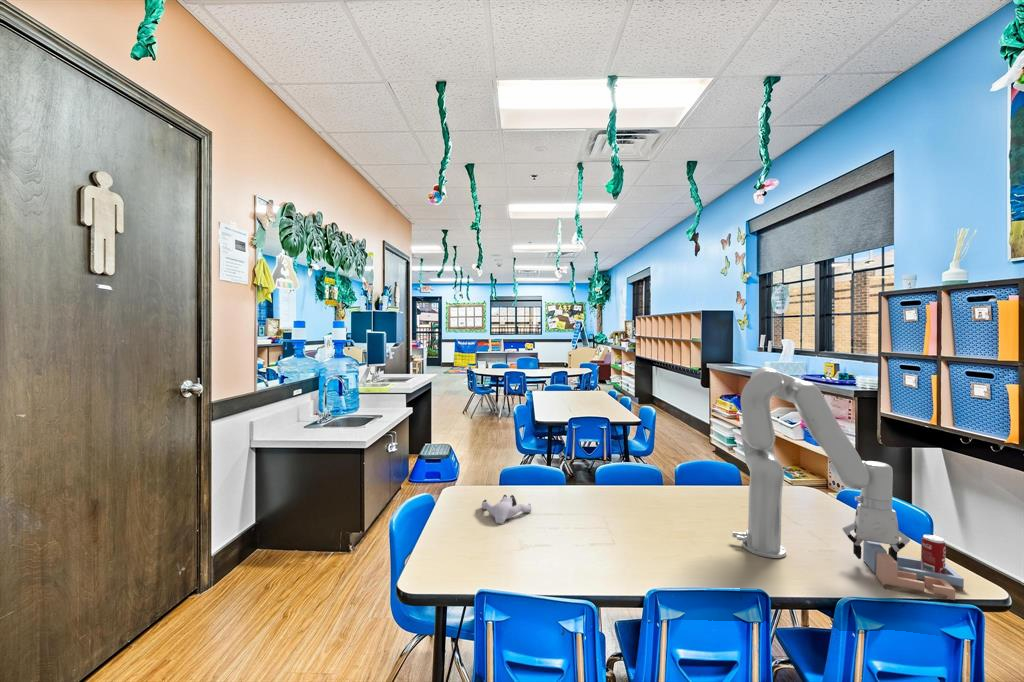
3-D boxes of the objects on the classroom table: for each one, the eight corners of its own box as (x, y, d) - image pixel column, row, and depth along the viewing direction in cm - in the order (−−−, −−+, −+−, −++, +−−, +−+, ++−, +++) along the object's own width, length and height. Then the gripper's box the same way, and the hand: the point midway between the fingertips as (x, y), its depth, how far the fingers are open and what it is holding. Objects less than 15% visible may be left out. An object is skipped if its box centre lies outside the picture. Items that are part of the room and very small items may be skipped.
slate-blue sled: (873, 572, 134) (874, 549, 134) (863, 558, 143) (863, 537, 143) (963, 588, 126) (964, 564, 126) (946, 573, 135) (946, 549, 135)
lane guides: (885, 588, 126) (885, 584, 126) (862, 558, 144) (862, 555, 144) (978, 606, 118) (979, 602, 118) (942, 572, 136) (942, 569, 136)
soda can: (932, 573, 135) (933, 533, 135) (949, 582, 130) (951, 541, 130) (915, 573, 135) (916, 533, 135) (932, 582, 130) (933, 541, 130)
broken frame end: (933, 596, 123) (933, 585, 123) (923, 585, 128) (923, 575, 128) (955, 600, 121) (955, 589, 121) (944, 589, 126) (944, 579, 126)
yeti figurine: (489, 507, 185) (469, 525, 166) (488, 490, 186) (468, 507, 167) (534, 509, 179) (520, 528, 160) (533, 492, 179) (519, 509, 160)
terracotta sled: (883, 585, 127) (884, 561, 127) (876, 575, 132) (876, 552, 132) (924, 593, 123) (925, 567, 123) (914, 582, 129) (915, 558, 129)
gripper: (845, 502, 138) (844, 559, 138) (917, 511, 131) (916, 571, 131) (838, 494, 145) (837, 549, 145) (906, 503, 138) (905, 560, 138)
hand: (874, 559), depth 138 cm, fingers open, 7 cm apart
